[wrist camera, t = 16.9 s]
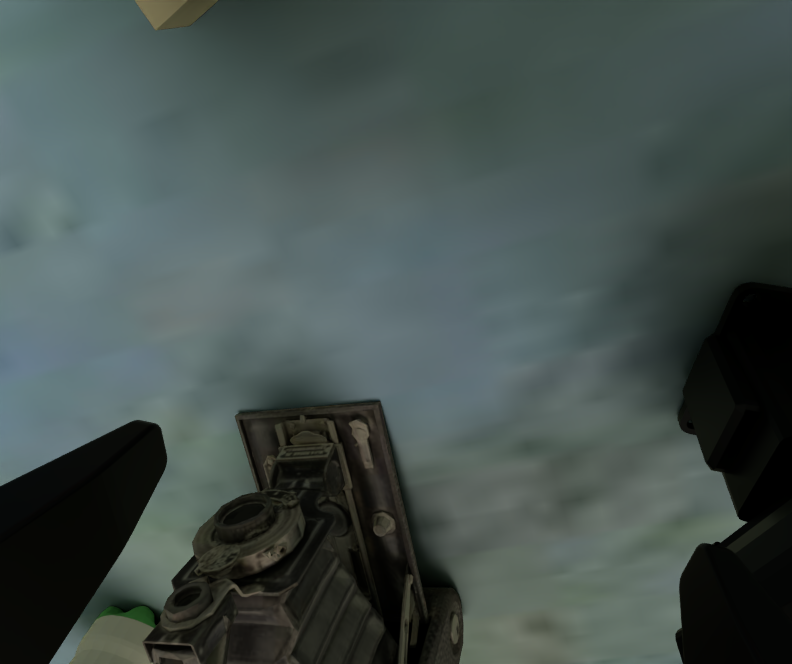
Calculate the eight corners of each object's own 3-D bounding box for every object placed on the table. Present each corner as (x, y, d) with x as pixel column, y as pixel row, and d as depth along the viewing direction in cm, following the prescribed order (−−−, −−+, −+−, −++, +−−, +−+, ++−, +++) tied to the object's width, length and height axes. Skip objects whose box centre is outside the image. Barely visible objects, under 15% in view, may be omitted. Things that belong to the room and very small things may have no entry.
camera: (428, 371, 29) (170, 750, 10) (472, 643, 33) (346, 1266, 14) (244, 383, 32) (-194, 681, 14) (305, 627, 36) (29, 1110, 18)
